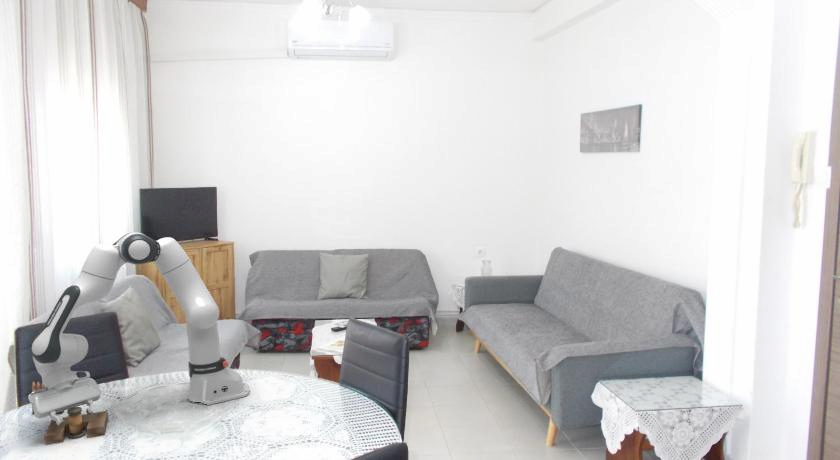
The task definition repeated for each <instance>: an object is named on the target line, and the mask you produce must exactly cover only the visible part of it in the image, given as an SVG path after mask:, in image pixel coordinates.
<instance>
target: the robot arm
mask: <svg viewBox="0 0 840 460" xmlns="http://www.w3.org/2000/svg"><path fill="white" fill-rule="evenodd" d="M149 263H153V264H154V265H155V266H156V268H157V269H158V271H159V273H160V274H161V276H162V278H163V279H164V281H165V283H166V284H167V287H168V288H169V290H170V291H171V292H172V295H174V296H173V297H174V298H175V299H176V302H177V303H178V305H179V306H180V308H181V309H182V312H183V313H184V315H185V316H184V317H185V325H186V334H187V336H186V337H187V340H188V341H187V342H188V343H187V344H188V356H189V357H188V359H189V361H188V376H189V387H188V388H189V389H188V394H187V398H188V399H189V400H190V401H194V402H201V403H200V404H202V403H204V404H203V405H205V404H207V406H210V405H215V404H218V403H222V402H223V403H224V402H226V401H232V400H235V399H236V400H237V399H239V398H244V397H247V396H248V395H249V394H250V388H249V385H248V384H247V383H245V382H243V378H242V376H241V375H240V374H239V373H238V372H237V371H235V370H233V369H232V368H230V367H228V366H229V362H228V361H227V359H225V357H221V348H220V346H221V344H220V336H219V329H218V320H219V316H220V309H219V306H218V304H217V303H216V301H215V299H214V297H213V296H212V294H211V293H210V291H209V290H208V288H207V286H206V284H205V283H204V281H203V279H202V278H201V276H200V274H199V273H198V271H197V269H196V267H195V265H194V264H193V262H192V260H191V259H190V257H189V256H188V254H187V252H186V251H185V250H184V249H183V246H181V245H180V243H178V241H177V240H176V239H174V237H171V236H169V237H168V236H166V237H162V238H159V239H158V240H155V239H153V238H152V237H150V236H149V235H146V234H144V233H142V232H138V231H137V232H135V231H134V232H129V233H126V234H124V235H122V237H120V238H119V239H118V240H116V241H115V242H114V243H112V244H110V243H99V244H96V245H95V246H93V247H92V249H91V251H89V253H88V256H87V257H86V259H85V261H84V263H83V265H82V267H81V269H80V272H79V275H78V276H77V278H76V279H75V281H73V283H72V284H71V285H70V286H69V287H67V288H65V290H64V291H63V292H62V293H61V295H60V297H59V298H58V301H57V302H56V304H55V305H54V307H53V309H52V311H51V313H50V314H49V316H48V318H47V319H46V322H45V324H44V325H43V327H42V328H41V329H40V331H39V332H38V334H37V335H36V336H35V337H34V338H33V341H32V343H31V346H30V351H31V355H32V360H33V363H34V365H35V368H36V371H37V373H38V374H39V375H40V376H41V381H42V382H43V384H44V387H45V388H43V389H42V388H41V389H40V390H37V389H36V391H33V392H32V391H31V393H29V394H28V396H27V399H28V401H29V403H30V404H31V408H32V407H33V411H34V414H35V415H34V416H35V418H37V419H42V418H45V417H49V419H50V420H54V421H56V423H57V425H60V424H63V422H64V421H63V420H62V418H63V417H62V416H60V417H59V416H57V414H56V413H59V412H62V411H64V412H66V411H67V410H68V409H70V408H74V407H80V406H81V407H82V406H84V405H86V406H87V407H88V408H87V409H86V410H85V412H86V413H85V414H87V415H91V414H93V413H94V410H93V405H94V404H93V403H94V402H96V401H99V399H100V398H101V396H102V390H101V388H100V387H99V385H98V383H97V382H96V380H95V379H93V378H91V374H90V372H89V371H86V370H85V371H84V370H83V371H82V370H80V371H79V370H78V371H76V370H75V371H74V370H71V367H72V366H73V367H74V366H75V365H76V364H79V363H80V362H81V361H83V360H84V359H85V358H86V357H87V355H88V353H89V350H90V344H89V341H88V338H87V337H85V335H83V334H76V333H63V332H64V331H65V329H66V327H67V325H68V323H69V321H70V320H71V318H72V316H73V314H74V313H75V312H76V310H77V309H79V308H81V307H82V306H85V305H88V304H91V303H95V302H97V301H100V300H102V299H104V298H106V297H107V296H108V295H109V294H110V292H111V291H112V289H113V286H114V284H115V281H116V278H117V275H118V272H119V271H120V269H121V268H122V266H123V265H125V264H132V265H144V264H149ZM42 382H41V383H42ZM188 399H187V400H188ZM189 400H188V401H189ZM190 401H189V402H190ZM194 402H193V403H194Z"/></svg>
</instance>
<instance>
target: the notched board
mask: <svg viewBox="0 0 840 460" xmlns="http://www.w3.org/2000/svg"><path fill="white" fill-rule="evenodd" d="M62 420H63V421H64V422H63V424H60V425H57V423H56V421H54V420H52V419H50V423H49V425H48V427H47V429H46V431H45V434H44V445H45V446H48V445H54V444H59V443H64V441H65V438H66V434H69V433H70V429H69V418H68V416H65V417H64V416H63V417H62ZM108 420H109V414H108V410H103V411H96V412H93V414H91V415H87V413H83V414H82V425H83V430H85V431H86V438H87V439H89V438H95V437H101V436H105V434H106V429H107V427H108V426H107V425H108V422H109V421H108Z"/></svg>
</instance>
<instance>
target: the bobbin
mask: <svg viewBox="0 0 840 460" xmlns="http://www.w3.org/2000/svg"><path fill="white" fill-rule="evenodd" d="M82 411H83V410H82V406H81V407H80V406H78V407H74V408H70V409H68V410H66V412H67V413H66V414H68V415H67V417H68V418H69V429H70V433H67V439H69V440H77V439H80V438H83V437H85V436H87V430H83V425H82V415H83V414H82Z"/></svg>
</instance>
